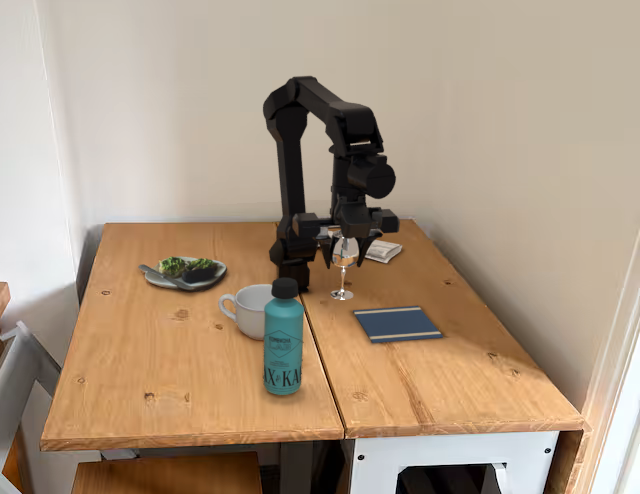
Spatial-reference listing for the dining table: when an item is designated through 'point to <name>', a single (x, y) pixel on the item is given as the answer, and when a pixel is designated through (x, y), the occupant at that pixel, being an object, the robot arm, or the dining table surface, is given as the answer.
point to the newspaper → (379, 250)
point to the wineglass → (343, 259)
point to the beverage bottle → (283, 338)
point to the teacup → (249, 308)
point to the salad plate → (185, 273)
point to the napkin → (396, 324)
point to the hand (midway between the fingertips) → (343, 267)
